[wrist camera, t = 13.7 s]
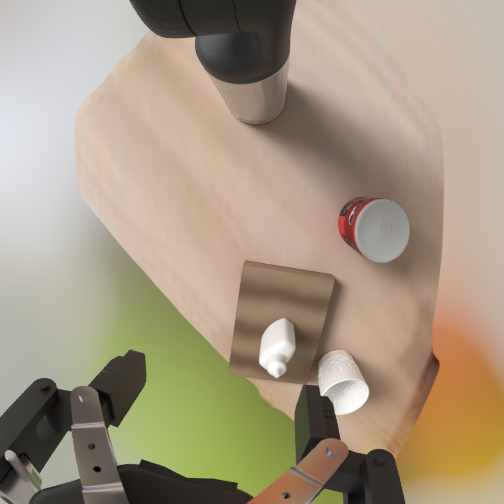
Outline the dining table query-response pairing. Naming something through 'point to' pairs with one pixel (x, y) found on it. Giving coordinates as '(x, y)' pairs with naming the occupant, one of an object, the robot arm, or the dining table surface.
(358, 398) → the white cup
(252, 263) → the walnut base board
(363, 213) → the canned food
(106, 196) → the dining table surface
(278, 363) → the eye dropper bottle
